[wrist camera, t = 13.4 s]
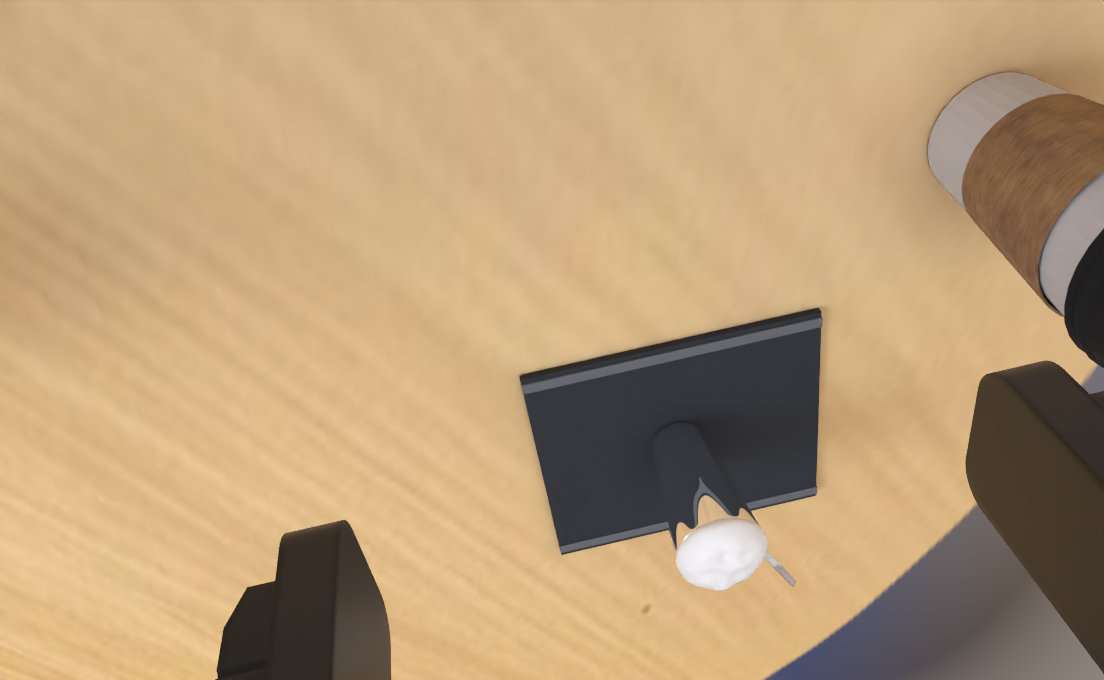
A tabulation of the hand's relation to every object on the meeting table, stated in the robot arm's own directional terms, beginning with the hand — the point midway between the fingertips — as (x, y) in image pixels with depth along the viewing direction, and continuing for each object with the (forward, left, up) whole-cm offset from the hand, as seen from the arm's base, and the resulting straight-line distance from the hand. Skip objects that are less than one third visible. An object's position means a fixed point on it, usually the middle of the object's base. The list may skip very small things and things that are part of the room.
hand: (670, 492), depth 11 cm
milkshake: (+6, -27, -28) cm, 39 cm away
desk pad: (+6, -27, -28) cm, 39 cm away
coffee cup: (+22, -12, -28) cm, 38 cm away
